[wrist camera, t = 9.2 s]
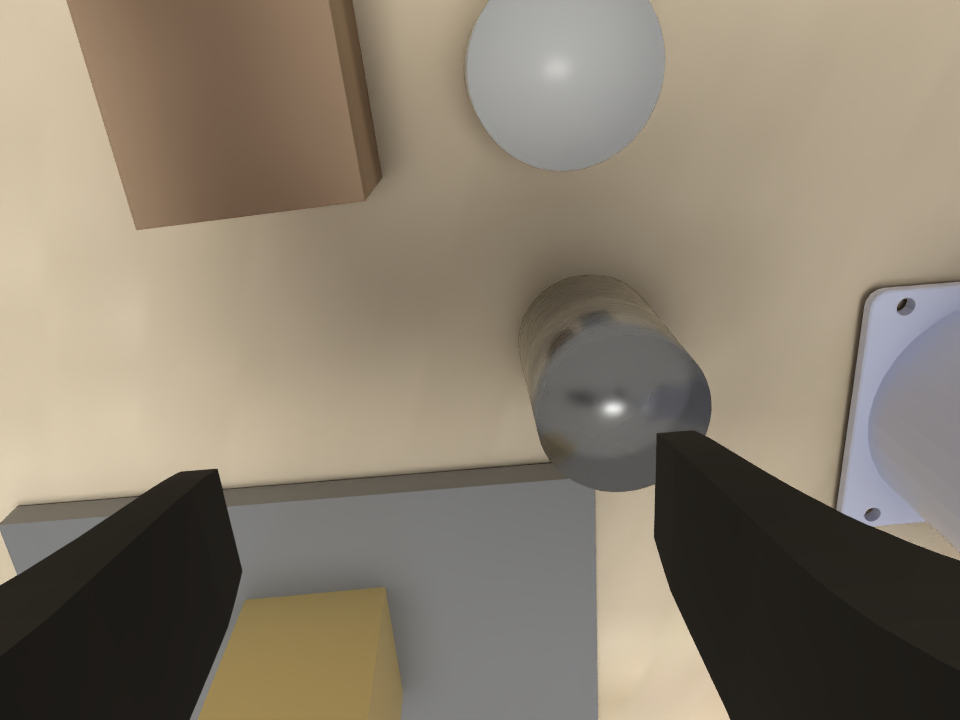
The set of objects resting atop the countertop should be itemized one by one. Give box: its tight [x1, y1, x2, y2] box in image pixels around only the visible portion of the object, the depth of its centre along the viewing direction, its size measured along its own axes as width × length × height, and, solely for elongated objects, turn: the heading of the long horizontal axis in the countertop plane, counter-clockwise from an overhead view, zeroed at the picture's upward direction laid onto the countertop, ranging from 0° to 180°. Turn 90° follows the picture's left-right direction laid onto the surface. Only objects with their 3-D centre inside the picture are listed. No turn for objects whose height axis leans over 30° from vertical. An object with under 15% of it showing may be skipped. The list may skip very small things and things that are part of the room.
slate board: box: [0, 463, 598, 720], centre depth 24 cm, size 18×12×1 cm, turn 94°
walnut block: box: [67, 0, 382, 230], centre depth 16 cm, size 5×5×4 cm
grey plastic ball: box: [464, 0, 665, 171], centre depth 16 cm, size 4×4×4 cm
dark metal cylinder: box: [519, 275, 711, 492], centre depth 18 cm, size 4×4×5 cm
